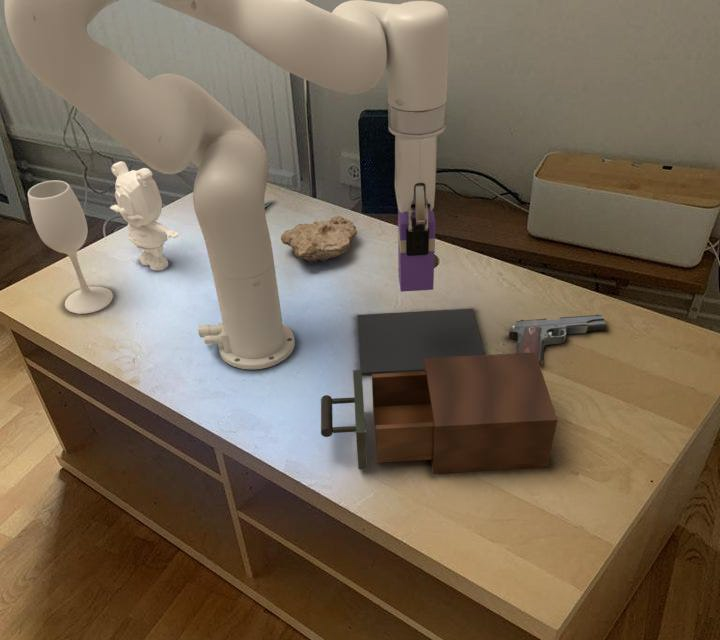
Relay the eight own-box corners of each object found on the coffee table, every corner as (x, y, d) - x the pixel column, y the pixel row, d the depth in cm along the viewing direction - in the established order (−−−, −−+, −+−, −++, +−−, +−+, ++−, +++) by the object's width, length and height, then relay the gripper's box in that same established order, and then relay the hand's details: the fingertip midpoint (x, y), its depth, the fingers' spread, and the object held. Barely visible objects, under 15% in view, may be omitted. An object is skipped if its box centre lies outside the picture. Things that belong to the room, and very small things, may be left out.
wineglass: (55, 309, 131) (9, 197, 116) (84, 284, 136) (44, 174, 121) (94, 318, 128) (52, 204, 113) (122, 292, 134) (86, 181, 118)
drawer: (323, 471, 99) (319, 434, 94) (323, 408, 108) (319, 371, 103) (464, 463, 99) (468, 426, 94) (452, 401, 108) (455, 364, 103)
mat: (360, 375, 114) (360, 372, 114) (357, 317, 125) (357, 314, 125) (486, 368, 114) (487, 365, 114) (472, 311, 125) (472, 308, 125)
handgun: (514, 369, 114) (515, 359, 112) (499, 328, 121) (500, 319, 120) (622, 362, 114) (625, 352, 113) (600, 322, 122) (603, 313, 121)
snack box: (400, 292, 110) (400, 224, 102) (398, 276, 113) (397, 209, 105) (433, 290, 110) (435, 222, 102) (430, 274, 113) (432, 206, 105)
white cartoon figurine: (171, 289, 134) (144, 187, 120) (107, 255, 143) (75, 157, 129) (202, 271, 138) (179, 171, 124) (138, 240, 147) (110, 143, 133)
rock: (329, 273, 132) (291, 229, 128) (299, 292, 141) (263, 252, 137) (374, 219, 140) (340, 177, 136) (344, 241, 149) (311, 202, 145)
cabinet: (432, 473, 99) (435, 426, 93) (422, 405, 109) (424, 358, 102) (547, 467, 99) (557, 419, 93) (527, 399, 109) (535, 352, 102)
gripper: (384, 94, 99) (387, 219, 113) (392, 144, 88) (394, 277, 101) (438, 90, 99) (434, 216, 113) (454, 140, 88) (447, 274, 101)
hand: (415, 244), depth 107 cm, fingers closed on snack box, 4 cm apart
